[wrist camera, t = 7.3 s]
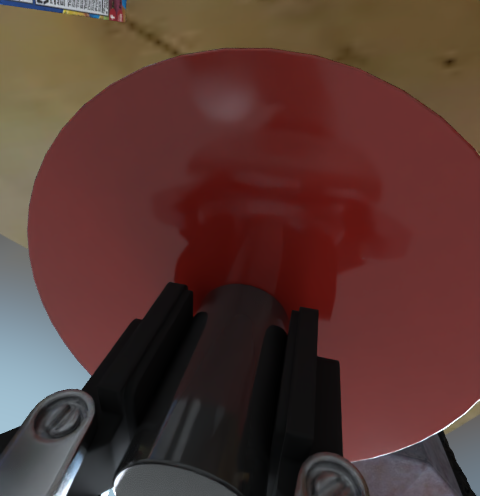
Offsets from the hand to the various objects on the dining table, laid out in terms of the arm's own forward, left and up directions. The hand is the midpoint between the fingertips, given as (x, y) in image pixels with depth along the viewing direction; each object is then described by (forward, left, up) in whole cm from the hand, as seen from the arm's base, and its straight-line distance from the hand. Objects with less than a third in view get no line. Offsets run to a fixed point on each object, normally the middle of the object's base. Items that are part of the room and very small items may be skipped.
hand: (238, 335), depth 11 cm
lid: (0, 0, -1) cm, 1 cm away
